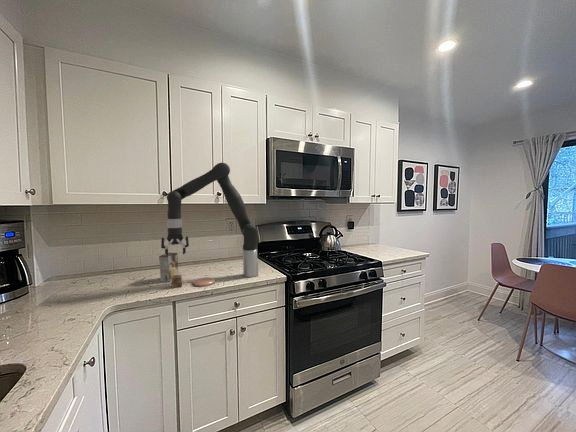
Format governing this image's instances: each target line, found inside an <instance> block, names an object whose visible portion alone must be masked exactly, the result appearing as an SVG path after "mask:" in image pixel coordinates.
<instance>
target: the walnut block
mask: <svg viewBox="0 0 576 432" xmlns="http://www.w3.org/2000/svg"><path fill="white" fill-rule="evenodd" d="M182 278H183V277H182V274H178V275H173V276H172V281H171V288H172V289H178V288H182V286H183V281H182V280H183V279H182Z"/></svg>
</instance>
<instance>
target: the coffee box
mask: <svg viewBox="0 0 576 432" xmlns="http://www.w3.org/2000/svg"><path fill="white" fill-rule="evenodd" d="M158 257H159V272H160V273H159V275H160V282H165V283H166V282H167V283H170V282H172V276H173V275H179V263H178V262H179V260H178V259H179V258H178V253H177V252H168V256H167V255H166V254H165V253H164V254H161V255H159V256H158Z"/></svg>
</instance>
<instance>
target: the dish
mask: <svg viewBox="0 0 576 432" xmlns="http://www.w3.org/2000/svg"><path fill="white" fill-rule="evenodd" d="M215 283H216V281H215V278H213V277H200V278H196V279H194V280H193V285H194V287H201V288H203V287H205V288H206V287H208V286H212V285H214V284H215Z"/></svg>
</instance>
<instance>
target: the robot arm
mask: <svg viewBox="0 0 576 432" xmlns="http://www.w3.org/2000/svg"><path fill="white" fill-rule="evenodd" d="M230 172H231V167H230V166H229V164H227V163H226V162H219V163H216V164H215V165H214V166H213V167H212V168H211V169H210V170H209V171H207V172H205V173H203V174H201V175H200V176H198V177H196V178H193V179H192V180H190V181H188V182H186V183H185V184H183V185H181V186H180V187H178V188H175V189H173V190H172V191H170V192H168V193H167V195H166V201H167V208H168V209H167V225H166V227H167V237H164V236H162V237H161V245H160V246H161V249H163V250H164V254H166V255H167V256H168V253H169V247H170V246H171V245H172V246H174V245H180V246H181V247H182V255H185V254H186V252H187V251H186V250H187V249H186V248H188V247H189V246H190V244H189V236H188V235H186V236H183V221H182V200H184V199H186V198H187V197H190V196H192V195H194V194H196V193H197V192H199V191H201V190H203V189H204V188H205V187H206V186H209V185H210V184H212V183H213V182H217V183H218V185H219V187H220V188H221V192H222V193H223V196H224V198H225V201H226V203H227V205H228V207H229V209H230V212H232V214H233V216H234V217H235V219H236V221H237V224H238V226H239V229H240V232H241V235H242V236H243V245H242V267H243V268H242V270H243V271H242V274H243V276H244V277H246V278H253V277H257V276H259V260H258V244H259V230H258V228H257V226H255V225H253V224H252V222H251V220H250V219H249V216H248V213H247V209H246V206H245V201H244V200H243V198H242V196H241V194H240V193H239V191H238V190H237V189H236V188H235V186H234V185H233V183H232V181H231V179H230V177H229V175H230ZM166 240H167V241H168V243H167V244H166V245H165V242H166ZM183 240H184V241H185V243H186V244H184V242H183Z"/></svg>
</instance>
